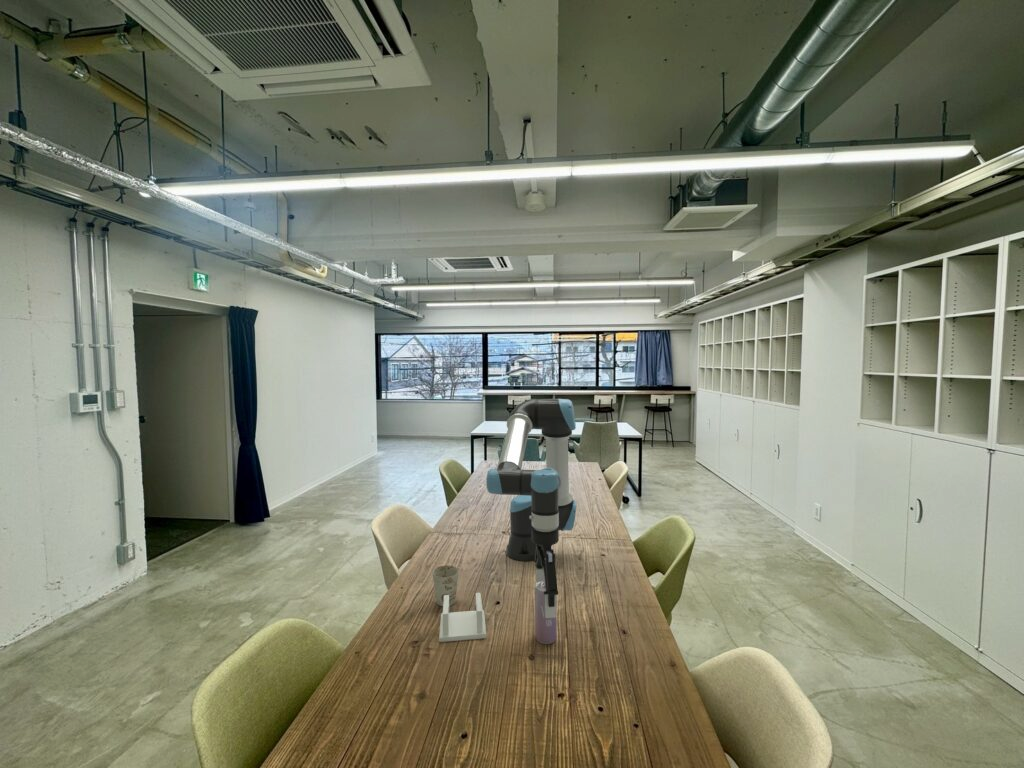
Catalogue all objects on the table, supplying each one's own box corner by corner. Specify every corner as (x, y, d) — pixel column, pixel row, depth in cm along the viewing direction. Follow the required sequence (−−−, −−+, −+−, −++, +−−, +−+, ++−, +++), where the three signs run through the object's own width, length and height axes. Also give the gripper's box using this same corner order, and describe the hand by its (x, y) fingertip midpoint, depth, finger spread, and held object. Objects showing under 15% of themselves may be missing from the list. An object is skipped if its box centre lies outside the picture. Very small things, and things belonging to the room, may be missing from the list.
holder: (441, 617, 129) (440, 593, 128) (483, 613, 130) (483, 590, 130) (439, 642, 117) (438, 616, 117) (486, 638, 118) (486, 612, 118)
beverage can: (555, 631, 121) (554, 579, 121) (558, 644, 115) (557, 590, 115) (534, 632, 121) (533, 580, 120) (536, 645, 115) (535, 591, 114)
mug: (434, 610, 132) (433, 578, 132) (430, 590, 144) (430, 561, 144) (460, 606, 135) (460, 575, 134) (455, 587, 147) (454, 558, 146)
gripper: (524, 513, 129) (525, 582, 129) (540, 545, 104) (540, 631, 105) (548, 512, 130) (549, 580, 130) (569, 543, 105) (570, 628, 105)
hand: (545, 603), depth 117 cm, fingers open, 13 cm apart
